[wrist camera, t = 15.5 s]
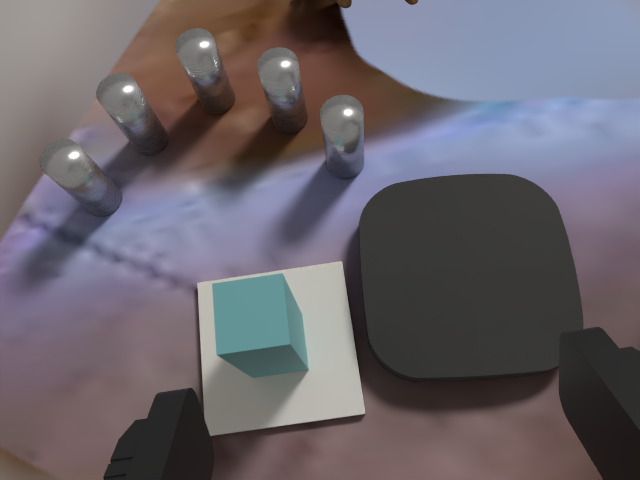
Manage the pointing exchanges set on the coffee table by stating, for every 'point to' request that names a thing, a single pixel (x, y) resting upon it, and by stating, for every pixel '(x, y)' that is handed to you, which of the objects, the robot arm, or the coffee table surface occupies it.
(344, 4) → the lion figurine
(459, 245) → the media streaming box
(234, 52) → the coffee table surface
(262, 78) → the posts
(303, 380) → the tile
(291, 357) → the teal block
